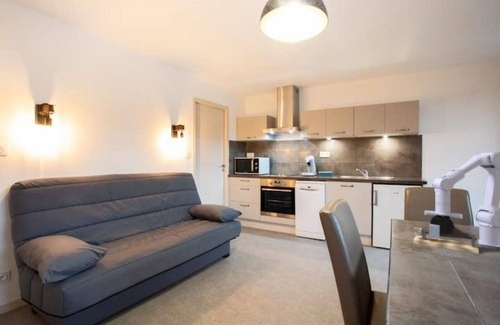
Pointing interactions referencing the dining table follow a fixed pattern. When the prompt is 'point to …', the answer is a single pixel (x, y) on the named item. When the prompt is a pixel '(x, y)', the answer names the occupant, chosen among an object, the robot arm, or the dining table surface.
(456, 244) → the cord board
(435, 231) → the light blue block
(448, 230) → the black cylinder
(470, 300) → the dining table surface
